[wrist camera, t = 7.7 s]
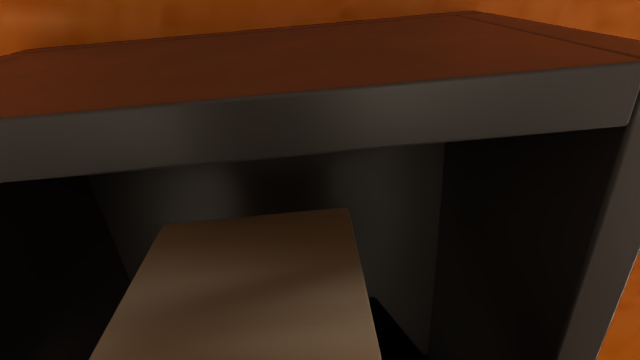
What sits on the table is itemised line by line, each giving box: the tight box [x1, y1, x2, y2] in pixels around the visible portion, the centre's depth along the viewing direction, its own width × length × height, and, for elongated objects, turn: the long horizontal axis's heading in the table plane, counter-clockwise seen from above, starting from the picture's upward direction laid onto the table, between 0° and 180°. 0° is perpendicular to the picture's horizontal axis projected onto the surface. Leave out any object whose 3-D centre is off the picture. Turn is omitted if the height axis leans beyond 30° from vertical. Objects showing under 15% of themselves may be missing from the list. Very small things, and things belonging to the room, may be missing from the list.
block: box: [89, 207, 382, 360], centre depth 7 cm, size 4×4×4 cm
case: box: [0, 11, 640, 360], centre depth 10 cm, size 14×12×7 cm
